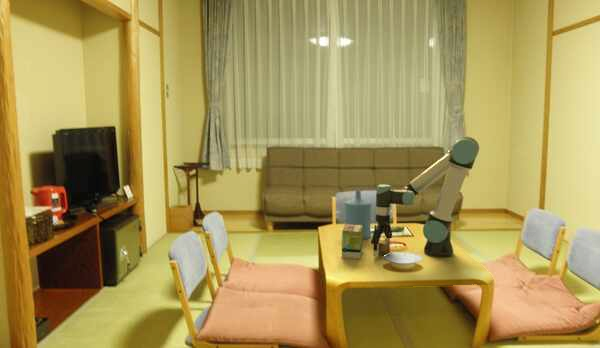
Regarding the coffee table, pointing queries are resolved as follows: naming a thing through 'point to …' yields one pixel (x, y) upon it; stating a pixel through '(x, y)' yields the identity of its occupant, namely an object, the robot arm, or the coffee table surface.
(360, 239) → the tea box
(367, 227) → the water jug
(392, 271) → the coffee table surface
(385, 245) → the walnut block
